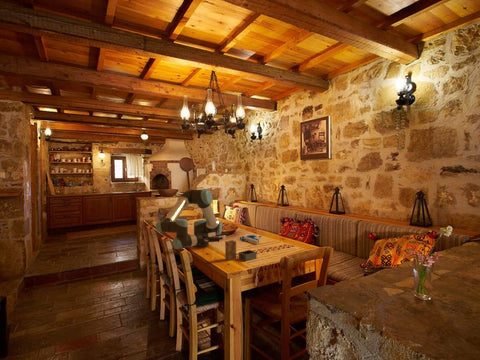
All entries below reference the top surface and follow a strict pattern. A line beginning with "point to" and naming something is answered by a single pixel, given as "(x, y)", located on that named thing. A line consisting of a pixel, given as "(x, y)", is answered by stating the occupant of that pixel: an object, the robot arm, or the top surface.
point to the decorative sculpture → (251, 238)
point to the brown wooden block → (230, 250)
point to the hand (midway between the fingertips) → (220, 235)
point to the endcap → (247, 255)
